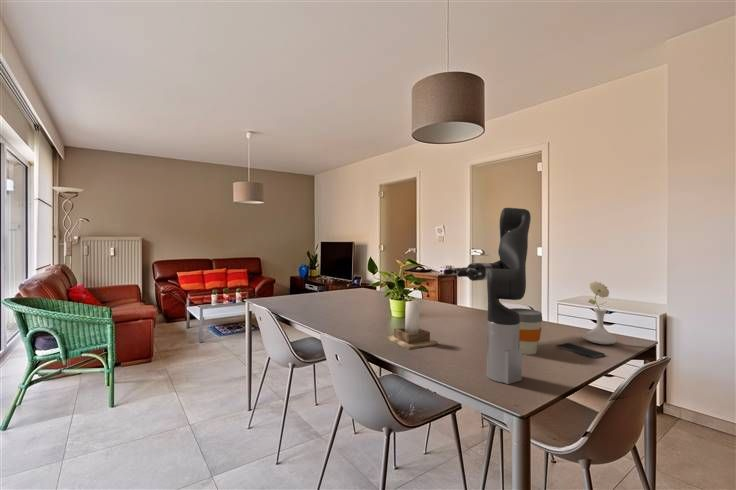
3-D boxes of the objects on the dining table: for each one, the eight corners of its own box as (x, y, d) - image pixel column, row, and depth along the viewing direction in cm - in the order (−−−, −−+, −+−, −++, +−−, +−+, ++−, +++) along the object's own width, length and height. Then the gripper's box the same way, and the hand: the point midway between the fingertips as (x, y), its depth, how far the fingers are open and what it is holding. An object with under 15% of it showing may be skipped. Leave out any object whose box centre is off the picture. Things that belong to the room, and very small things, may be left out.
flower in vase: (623, 347, 143) (624, 284, 142) (593, 346, 143) (595, 283, 143) (602, 337, 156) (603, 280, 155) (575, 337, 156) (576, 279, 156)
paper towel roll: (421, 339, 147) (422, 302, 147) (410, 341, 144) (410, 303, 144) (413, 336, 152) (414, 300, 152) (402, 338, 149) (402, 301, 149)
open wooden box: (437, 344, 144) (437, 333, 144) (408, 349, 138) (408, 337, 138) (414, 334, 159) (414, 324, 158) (387, 338, 152) (387, 327, 152)
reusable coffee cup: (545, 357, 130) (546, 315, 129) (508, 354, 132) (509, 314, 132) (536, 347, 142) (537, 309, 142) (503, 344, 144) (503, 307, 144)
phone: (592, 356, 129) (555, 344, 142) (592, 359, 129) (555, 347, 142) (606, 354, 132) (569, 342, 146) (606, 357, 132) (569, 345, 146)
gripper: (468, 261, 163) (440, 262, 155) (492, 264, 150) (463, 265, 143) (468, 278, 163) (439, 280, 156) (492, 282, 151) (463, 284, 143)
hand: (451, 273), depth 149 cm, fingers open, 8 cm apart
